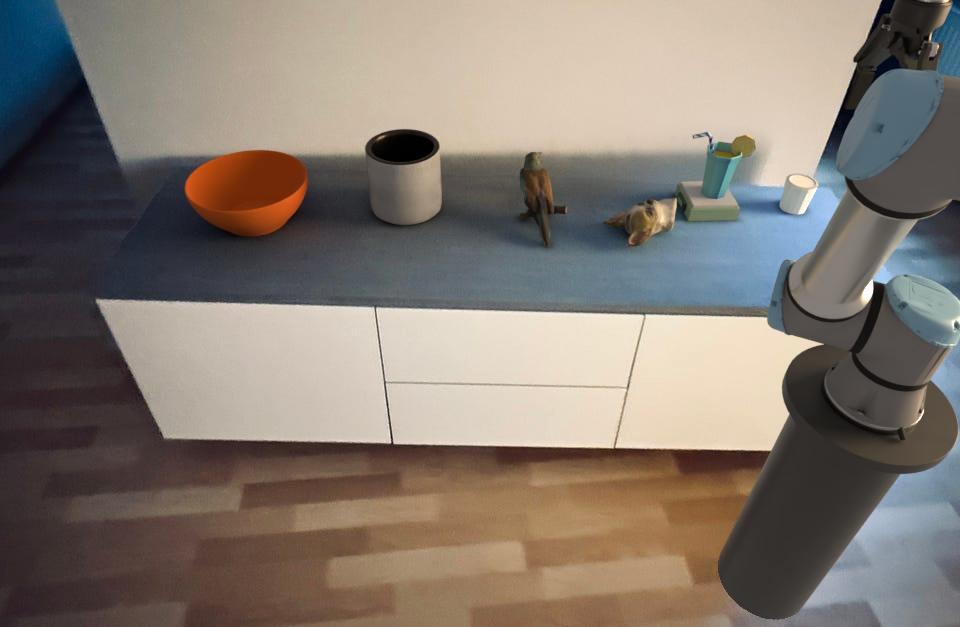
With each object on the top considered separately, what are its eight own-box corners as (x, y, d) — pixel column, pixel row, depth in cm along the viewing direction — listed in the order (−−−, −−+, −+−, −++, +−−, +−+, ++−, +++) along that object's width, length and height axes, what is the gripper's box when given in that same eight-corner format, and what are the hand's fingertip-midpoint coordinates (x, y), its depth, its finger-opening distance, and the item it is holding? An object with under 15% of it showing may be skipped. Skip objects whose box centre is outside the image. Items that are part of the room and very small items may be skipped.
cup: (684, 203, 148) (700, 141, 138) (673, 185, 154) (687, 124, 144) (745, 200, 149) (765, 138, 139) (732, 182, 155) (750, 121, 145)
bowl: (336, 221, 148) (330, 181, 142) (230, 268, 136) (218, 227, 129) (278, 176, 162) (270, 138, 155) (177, 215, 149) (163, 175, 143)
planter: (456, 209, 152) (456, 147, 142) (400, 237, 144) (394, 173, 134) (413, 181, 161) (409, 120, 150) (357, 206, 153) (349, 143, 142)
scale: (736, 220, 150) (741, 205, 148) (684, 221, 150) (688, 206, 147) (721, 193, 158) (725, 179, 156) (671, 194, 158) (675, 180, 155)
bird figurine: (575, 245, 141) (571, 147, 137) (528, 248, 140) (523, 150, 137) (561, 240, 154) (557, 150, 150) (518, 243, 153) (513, 153, 150)
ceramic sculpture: (693, 204, 139) (631, 224, 135) (686, 238, 144) (626, 258, 140) (662, 179, 146) (602, 198, 142) (657, 213, 152) (599, 231, 148)
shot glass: (800, 199, 157) (810, 172, 152) (813, 215, 152) (824, 188, 147) (771, 199, 157) (781, 173, 152) (783, 216, 151) (793, 189, 147)
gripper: (863, -30, 110) (818, 95, 125) (949, 24, 92) (885, 163, 106) (907, -30, 111) (857, 94, 125) (1002, 23, 92) (931, 162, 107)
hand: (870, 126), depth 116 cm, fingers open, 13 cm apart
